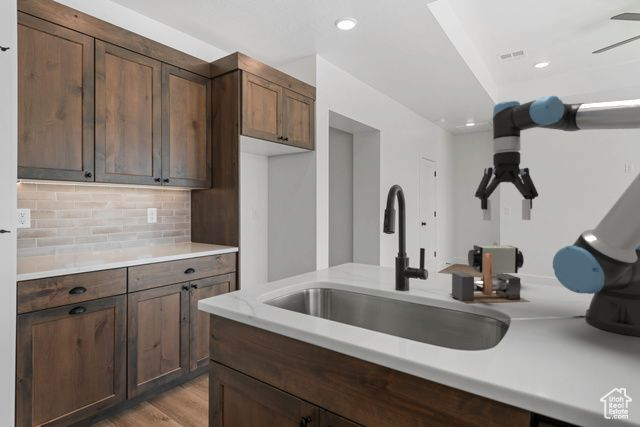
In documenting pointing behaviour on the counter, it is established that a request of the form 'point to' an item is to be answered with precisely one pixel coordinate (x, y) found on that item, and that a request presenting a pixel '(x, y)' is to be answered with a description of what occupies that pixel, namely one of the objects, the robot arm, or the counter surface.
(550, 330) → the counter surface
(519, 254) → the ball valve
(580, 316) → the counter surface
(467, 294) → the dark grey block
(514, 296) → the clamp
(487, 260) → the slip tube
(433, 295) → the counter surface
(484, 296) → the board
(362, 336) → the counter surface
